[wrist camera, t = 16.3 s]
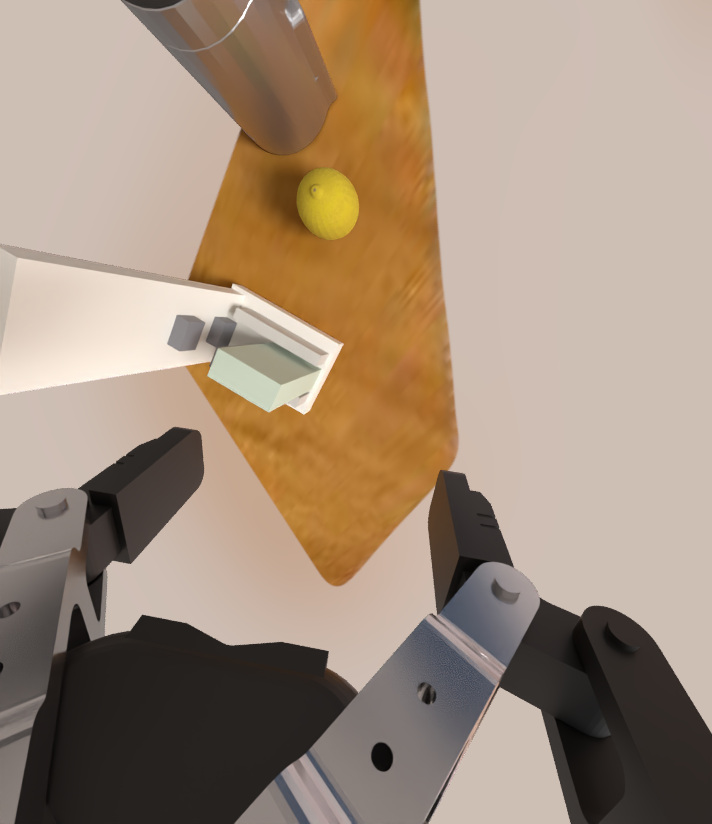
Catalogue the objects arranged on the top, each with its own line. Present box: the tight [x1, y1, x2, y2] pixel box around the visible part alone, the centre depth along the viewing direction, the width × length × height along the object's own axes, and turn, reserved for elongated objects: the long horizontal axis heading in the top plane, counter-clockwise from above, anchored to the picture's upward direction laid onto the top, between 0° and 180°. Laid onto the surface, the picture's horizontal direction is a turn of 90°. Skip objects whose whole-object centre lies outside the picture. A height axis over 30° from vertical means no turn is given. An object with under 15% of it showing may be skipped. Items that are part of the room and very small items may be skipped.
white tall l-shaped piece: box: [0, 244, 343, 414], centre depth 29 cm, size 14×9×24 cm, turn 61°
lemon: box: [296, 167, 359, 240], centre depth 32 cm, size 6×6×8 cm
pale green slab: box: [207, 342, 322, 412], centre depth 33 cm, size 7×3×11 cm, turn 61°
